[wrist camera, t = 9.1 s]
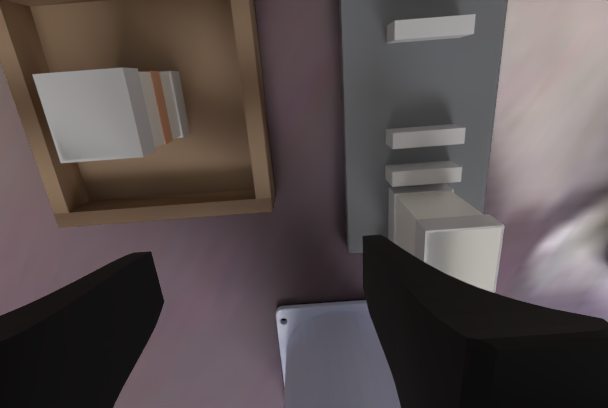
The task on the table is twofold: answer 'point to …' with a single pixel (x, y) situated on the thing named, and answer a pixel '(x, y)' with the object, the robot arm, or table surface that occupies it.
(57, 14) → the tray
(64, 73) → the block
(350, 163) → the fuse holder
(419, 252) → the block
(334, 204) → the table surface
